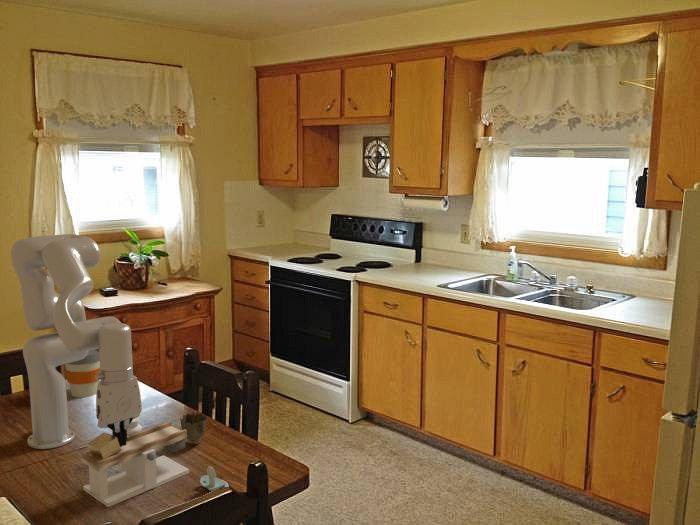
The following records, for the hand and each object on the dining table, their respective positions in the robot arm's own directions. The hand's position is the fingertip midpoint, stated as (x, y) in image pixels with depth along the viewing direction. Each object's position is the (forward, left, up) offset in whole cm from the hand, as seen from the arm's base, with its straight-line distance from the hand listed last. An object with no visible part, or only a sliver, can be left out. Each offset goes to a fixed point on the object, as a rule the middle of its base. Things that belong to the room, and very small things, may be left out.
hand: (120, 444), depth 164 cm
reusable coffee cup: (-69, +25, -12) cm, 74 cm away
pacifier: (+17, +16, -12) cm, 26 cm away
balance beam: (0, +4, -6) cm, 7 cm away
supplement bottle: (-16, +12, -12) cm, 23 cm away
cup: (-8, +27, -12) cm, 31 cm away
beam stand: (0, +4, -12) cm, 12 cm away
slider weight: (0, -4, -1) cm, 4 cm away
